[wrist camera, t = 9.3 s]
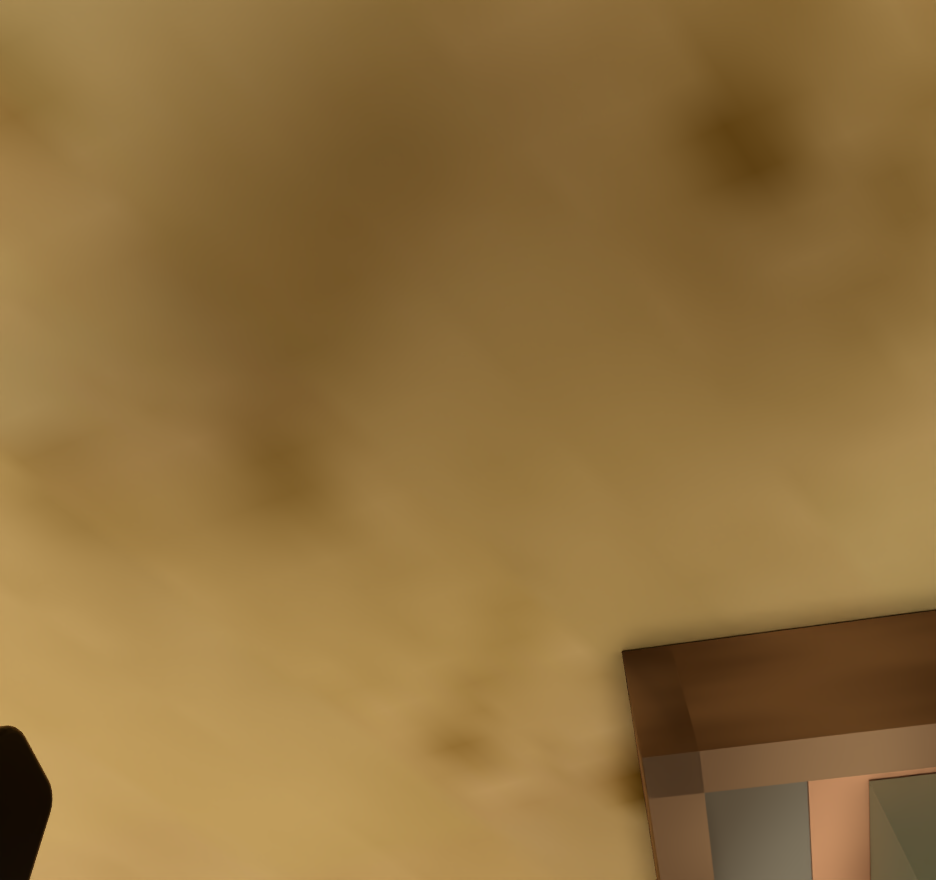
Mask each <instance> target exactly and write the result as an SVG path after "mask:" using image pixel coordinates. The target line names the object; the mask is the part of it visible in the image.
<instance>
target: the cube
mask: <svg viewBox="0 0 936 880" xmlns="http://www.w3.org/2000/svg"><path fill="white" fill-rule="evenodd" d="M869 799H870V861H871V880H936V774H928V775H919V776H910V777H902V778H893V779H884V780H875V781H869Z"/></svg>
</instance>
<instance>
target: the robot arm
mask: <svg viewBox="0 0 936 880" xmlns="http://www.w3.org/2000/svg"><path fill="white" fill-rule="evenodd" d="M51 808H52V789H51V785H50V783H49V780H48V778H47V777H46V775H45V773H44V771H43V769H42V767H41V765H40V764H39V762H38V760H37V758H36V756H35V754H34V752H33V751H32V749H31V747H30V745H29V743H28V741H27V740H26V738H25V736H24V735H23V733H22V732H21V731H20V730H18V729H17V728H16V727H13V726H0V880H29V879H30V876H31V873H32V870H33V867H34V863H35V860H36V857H37V854H38V851H39V847H40V844H41V841H42V838H43V835H44V831H45V828H46V825H47V822H48V819H49V815H50V812H51Z"/></svg>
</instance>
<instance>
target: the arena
mask: <svg viewBox="0 0 936 880" xmlns="http://www.w3.org/2000/svg"><path fill="white" fill-rule="evenodd" d="M622 656H623V662H624V669H625V675H626V682H627V688H628V695H629V701H630V708H631V714H632V721H633V727H634V733H635V740H636V746H637V753H638V759H639V766H640V772H641V779H642V785H643V792H644V798H645V805H646V811H647V818H648V824H649V831H650V837H651V844H652V850H653V857H654V863H655V870H656V876H657V880H871V861H870V799H869V781H875V780H884V779H893V778H902V777H910V776H919V775H928V774H936V610H935V611H927V612H919V613H912V614H904V615H897V616H889V617H881V618H874V619H866V620H859V621H851V622H844V623H836V624H828V625H821V626H813V627H806V628H798V629H790V630H783V631H775V632H768V633H760V634H753V635H745V636H737V637H730V638H722V639H715V640H707V641H699V642H692V643H684V644H677V645H669V646H662V647H654V648H646V649H639V650H631V651H624V652H622Z"/></svg>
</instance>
